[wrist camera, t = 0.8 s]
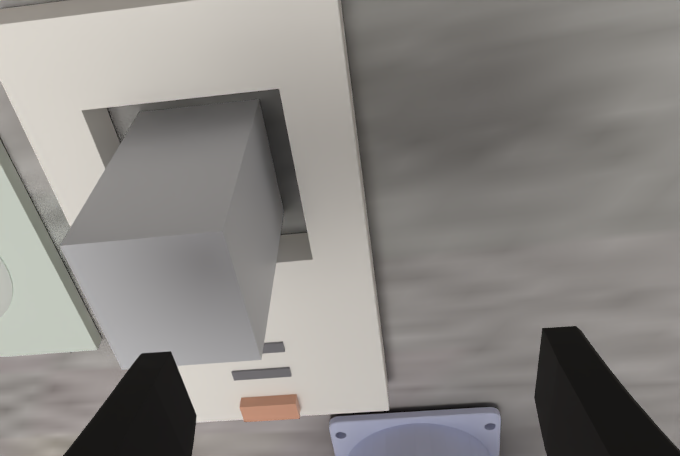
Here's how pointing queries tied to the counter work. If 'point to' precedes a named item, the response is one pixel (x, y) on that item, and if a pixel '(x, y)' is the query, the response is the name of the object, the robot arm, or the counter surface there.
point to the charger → (183, 236)
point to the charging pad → (35, 281)
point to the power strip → (307, 151)
